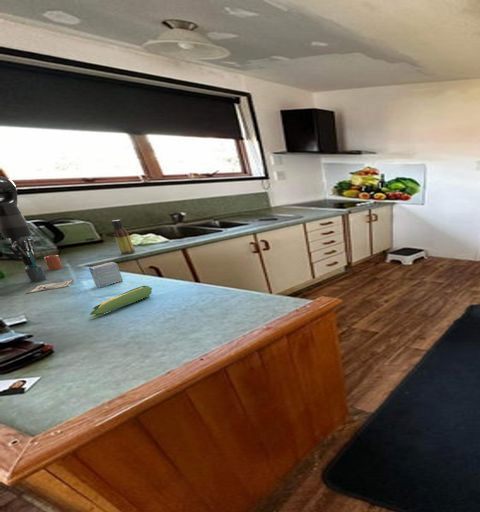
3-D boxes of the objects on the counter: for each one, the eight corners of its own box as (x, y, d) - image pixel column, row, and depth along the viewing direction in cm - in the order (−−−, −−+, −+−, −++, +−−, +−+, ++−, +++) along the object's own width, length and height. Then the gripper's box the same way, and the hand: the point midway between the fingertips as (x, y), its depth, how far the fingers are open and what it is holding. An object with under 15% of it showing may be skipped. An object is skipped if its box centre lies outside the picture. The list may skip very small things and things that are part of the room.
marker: (33, 281, 121) (20, 254, 117) (36, 280, 123) (23, 252, 119) (41, 280, 122) (28, 253, 118) (44, 278, 124) (31, 252, 120)
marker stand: (29, 284, 120) (22, 269, 117) (34, 280, 123) (27, 266, 121) (44, 281, 122) (37, 267, 120) (49, 278, 126) (42, 264, 123)
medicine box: (118, 279, 124) (112, 261, 121) (123, 281, 122) (117, 263, 119) (95, 286, 117) (88, 267, 114) (100, 288, 115) (92, 269, 112)
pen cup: (47, 271, 134) (41, 258, 132) (51, 268, 138) (46, 255, 135) (61, 269, 136) (55, 256, 134) (64, 267, 140) (59, 254, 138)
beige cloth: (26, 294, 110) (25, 293, 109) (36, 287, 117) (36, 285, 117) (68, 287, 116) (67, 286, 116) (76, 280, 123) (75, 279, 123)
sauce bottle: (129, 250, 165) (118, 218, 159) (137, 251, 164) (127, 219, 158) (117, 254, 159) (106, 221, 153) (126, 254, 158) (114, 221, 152)
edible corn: (157, 295, 108) (154, 284, 106) (93, 321, 90) (88, 309, 88) (148, 293, 109) (145, 283, 108) (83, 319, 91) (78, 307, 90)
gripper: (9, 223, 118) (26, 261, 124) (-12, 230, 107) (9, 270, 112) (34, 221, 122) (50, 258, 127) (17, 227, 111) (36, 266, 116)
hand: (31, 263), depth 120 cm, fingers closed on marker, 2 cm apart
